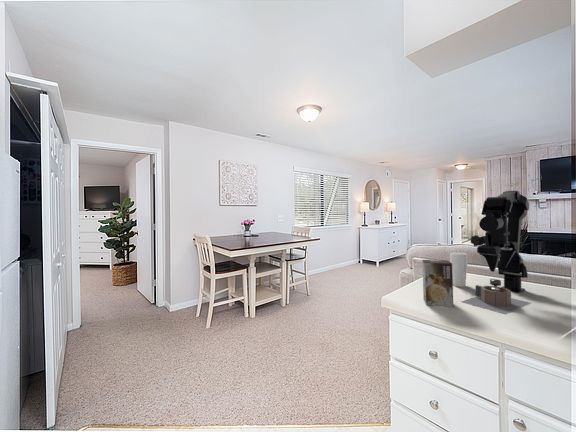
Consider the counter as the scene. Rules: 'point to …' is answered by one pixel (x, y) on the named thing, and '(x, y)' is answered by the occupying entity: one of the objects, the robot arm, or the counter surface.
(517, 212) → the robot arm
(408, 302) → the counter surface
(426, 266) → the coffee box
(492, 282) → the silver stemmed round piece
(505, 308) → the mat
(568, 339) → the counter surface
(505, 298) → the brown octagonal ring
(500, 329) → the counter surface
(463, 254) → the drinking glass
